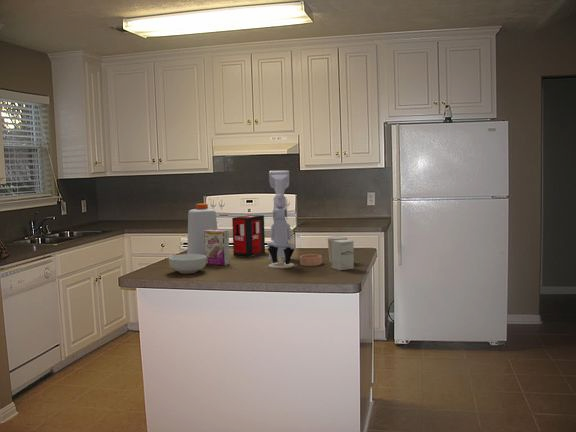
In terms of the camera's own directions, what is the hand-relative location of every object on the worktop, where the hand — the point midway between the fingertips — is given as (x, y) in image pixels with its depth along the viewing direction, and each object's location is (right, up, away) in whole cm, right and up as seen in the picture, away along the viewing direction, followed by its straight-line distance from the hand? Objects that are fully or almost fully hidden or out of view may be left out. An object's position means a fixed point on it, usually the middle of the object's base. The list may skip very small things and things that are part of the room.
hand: (281, 263), depth 265 cm
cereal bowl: (-42, -4, -7) cm, 42 cm away
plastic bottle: (-40, 0, +28) cm, 49 cm away
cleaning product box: (-17, +1, +39) cm, 43 cm away
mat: (0, -2, 0) cm, 2 cm away
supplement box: (+28, -2, -8) cm, 29 cm away
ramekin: (+14, -1, +4) cm, 14 cm away
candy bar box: (-31, -2, +11) cm, 33 cm away
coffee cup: (+27, -1, +8) cm, 28 cm away
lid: (0, -1, 0) cm, 1 cm away
